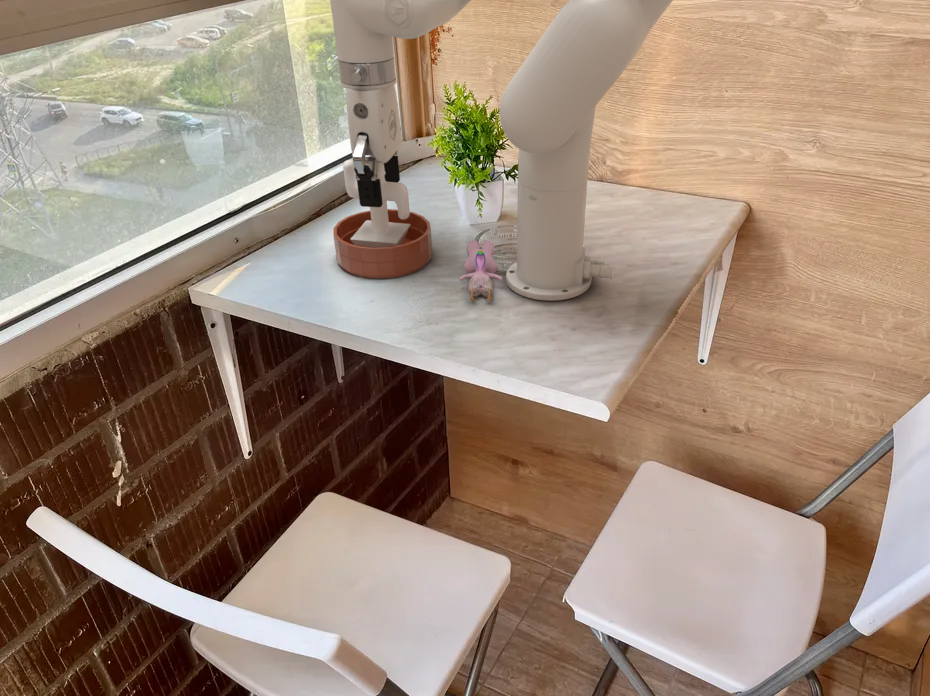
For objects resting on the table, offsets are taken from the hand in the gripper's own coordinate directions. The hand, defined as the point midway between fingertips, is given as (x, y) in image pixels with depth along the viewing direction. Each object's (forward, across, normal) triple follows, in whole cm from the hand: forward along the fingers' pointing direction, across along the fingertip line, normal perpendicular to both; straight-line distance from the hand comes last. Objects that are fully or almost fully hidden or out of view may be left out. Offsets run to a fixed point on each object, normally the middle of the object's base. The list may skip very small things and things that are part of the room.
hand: (380, 193), depth 114 cm
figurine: (+10, 0, +1) cm, 10 cm away
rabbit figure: (+11, -5, -16) cm, 20 cm away
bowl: (+10, 0, 0) cm, 11 cm away
